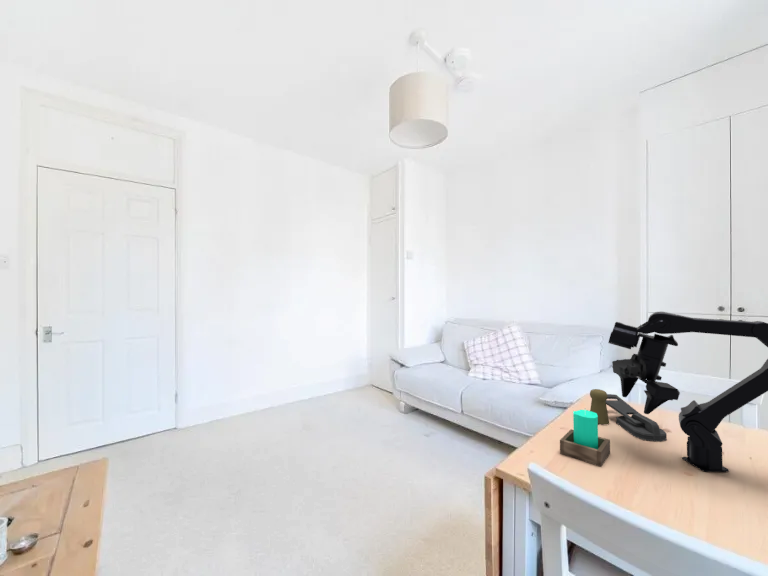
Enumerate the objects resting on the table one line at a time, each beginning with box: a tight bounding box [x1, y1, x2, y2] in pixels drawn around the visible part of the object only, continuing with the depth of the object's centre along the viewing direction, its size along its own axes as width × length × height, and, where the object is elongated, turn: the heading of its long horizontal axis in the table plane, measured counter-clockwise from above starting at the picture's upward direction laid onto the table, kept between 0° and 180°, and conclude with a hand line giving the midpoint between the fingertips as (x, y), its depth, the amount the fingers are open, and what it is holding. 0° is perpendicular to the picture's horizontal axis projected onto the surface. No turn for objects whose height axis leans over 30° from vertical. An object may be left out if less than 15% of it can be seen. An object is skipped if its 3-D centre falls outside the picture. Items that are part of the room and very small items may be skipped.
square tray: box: [559, 428, 611, 467], centre depth 94 cm, size 10×10×4 cm
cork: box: [589, 388, 610, 425], centre depth 116 cm, size 6×6×11 cm
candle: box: [572, 409, 599, 450], centre depth 94 cm, size 6×6×12 cm
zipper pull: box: [606, 393, 667, 443], centre depth 113 cm, size 9×7×25 cm
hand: (634, 404), depth 96 cm, fingers open, 9 cm apart
